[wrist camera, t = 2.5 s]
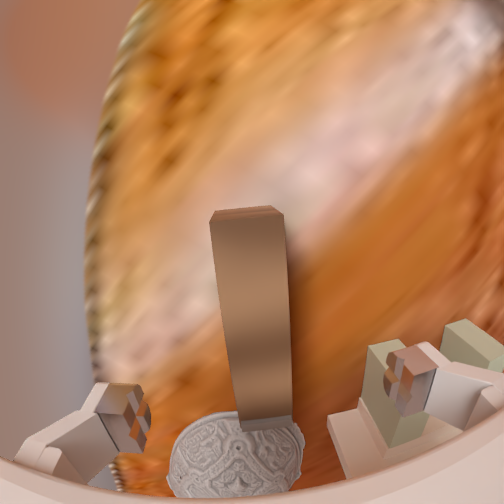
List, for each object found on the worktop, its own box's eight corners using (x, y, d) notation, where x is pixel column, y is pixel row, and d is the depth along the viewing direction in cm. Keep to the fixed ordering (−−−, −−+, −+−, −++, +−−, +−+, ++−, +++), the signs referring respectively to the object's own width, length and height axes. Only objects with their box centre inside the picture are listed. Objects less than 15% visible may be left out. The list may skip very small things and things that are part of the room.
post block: (332, 353, 22) (393, 467, 11) (484, 311, 23) (561, 364, 11) (326, 425, 24) (362, 523, 13) (465, 379, 25) (521, 438, 14)
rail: (214, 210, 19) (208, 223, 14) (270, 205, 19) (284, 215, 14) (238, 385, 22) (240, 432, 17) (282, 379, 23) (293, 425, 17)
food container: (170, 509, 28) (171, 545, 21) (159, 386, 23) (153, 439, 17) (276, 506, 31) (287, 540, 24) (322, 387, 26) (350, 431, 20)
